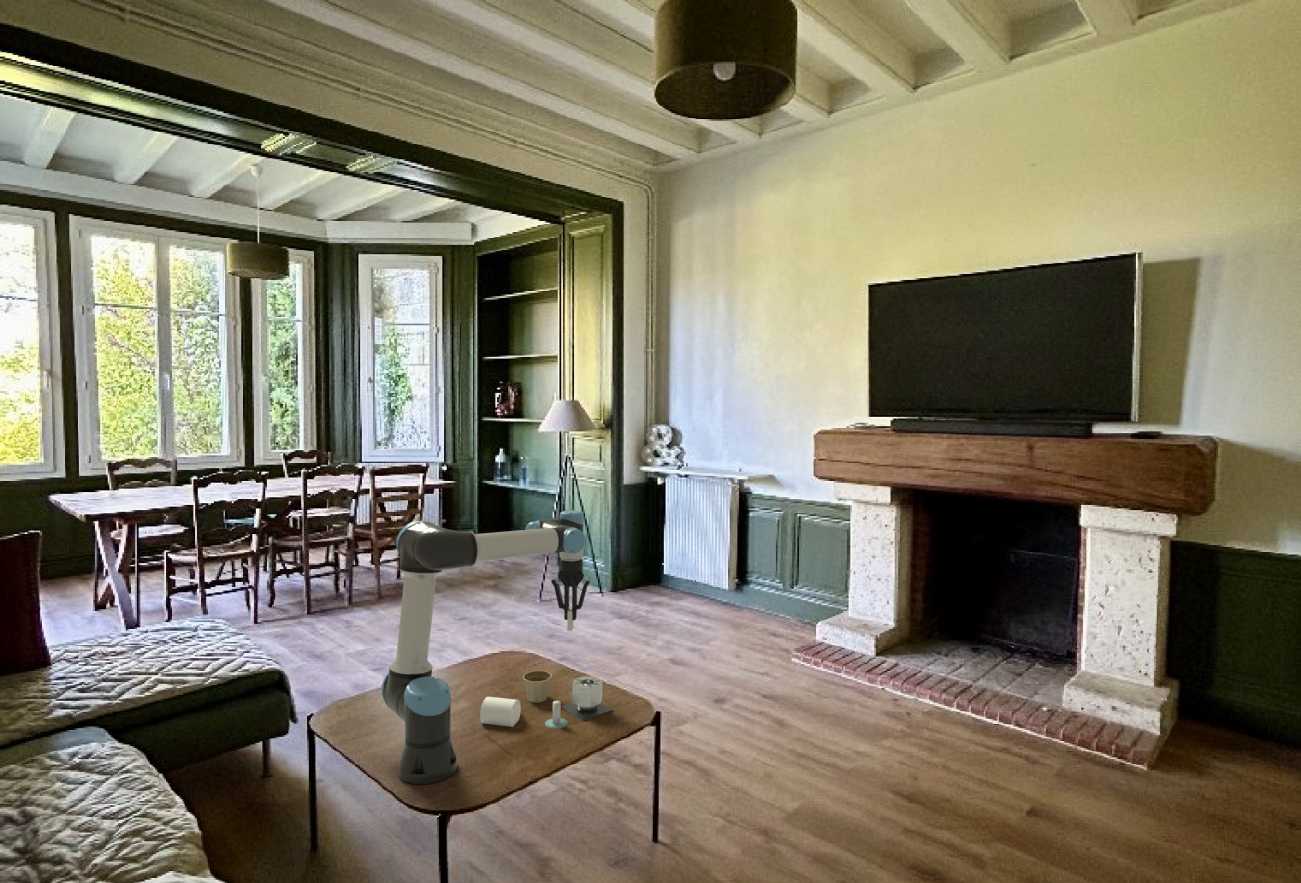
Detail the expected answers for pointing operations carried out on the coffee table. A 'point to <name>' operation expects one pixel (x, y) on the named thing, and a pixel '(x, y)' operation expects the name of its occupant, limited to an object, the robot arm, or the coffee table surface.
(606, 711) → the hub
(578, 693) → the collar
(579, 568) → the robot arm
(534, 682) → the flower pot
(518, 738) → the coffee table surface
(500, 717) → the mug
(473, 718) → the coffee table surface
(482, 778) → the coffee table surface
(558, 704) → the stand
